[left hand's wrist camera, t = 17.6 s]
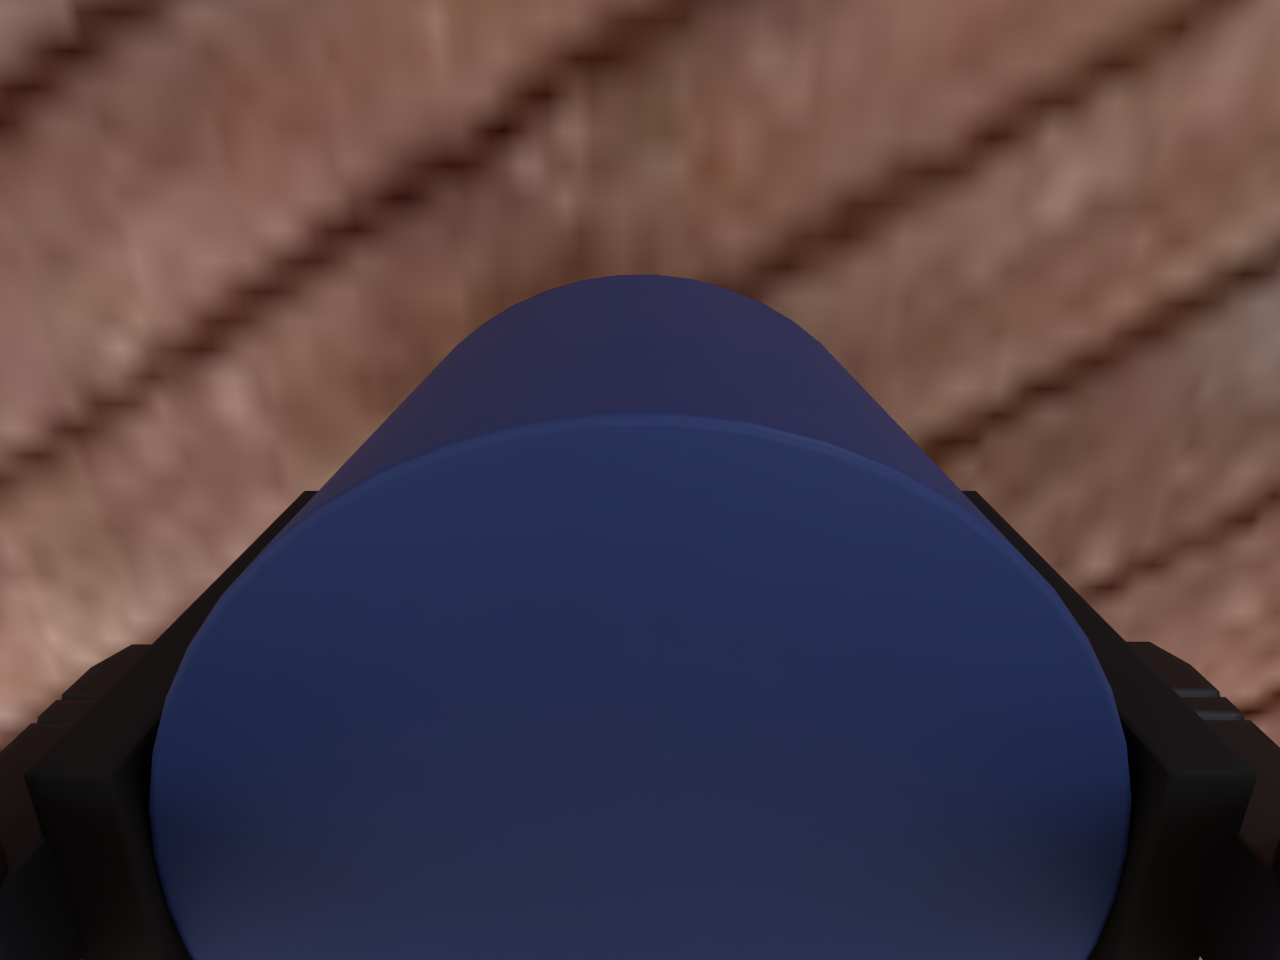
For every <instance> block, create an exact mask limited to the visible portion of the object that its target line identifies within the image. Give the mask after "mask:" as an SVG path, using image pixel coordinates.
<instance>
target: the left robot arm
mask: <svg viewBox="0 0 1280 960" xmlns="http://www.w3.org/2000/svg"><path fill="white" fill-rule="evenodd" d="M317 492H318V491H304V492H303V493H302V494H301V495H300V496H299V497H298V498H297V499H296V500H295V501H294V502H293V503H292V504H291V505H290V506H289V507H288V508H287V509H286V510H285V511H284V512H283V513H282V514H281V515H280V516H279V517H278V518H277V519H276V520H275V521H274V522H273V523H272V524H271V525H270V526H269V527H268V528H267V529H266V530H265V531H264V532H263V533H262V534H261V535H260V536H259V537H258V538H257V539H256V541H255V542H254V543H253V544H252V545H251V546H250V547H249V548H248V549H247V550H246V551H245V552H244V553H243V554H242V555H241V556H240V557H239V558H238V559H237V560H236V561H235V562H234V563H233V564H232V565H231V566H230V567H229V568H228V569H227V570H226V571H225V572H224V573H223V574H222V575H221V576H220V577H219V578H218V579H217V580H216V581H215V582H214V583H213V584H212V585H211V586H210V587H209V588H208V589H207V590H206V591H205V592H204V593H203V594H202V595H201V596H200V597H199V598H198V599H197V600H196V601H195V602H194V603H193V604H192V605H191V606H190V607H189V608H188V609H187V610H186V611H185V612H184V613H183V614H182V615H181V616H180V617H179V618H178V619H177V620H176V621H175V622H174V623H173V624H172V625H171V626H170V627H169V628H168V629H167V630H166V631H165V632H164V633H163V634H162V635H161V636H160V637H159V638H158V639H157V640H156V641H155V642H154V643H153V644H152V645H130V646H129V647H127V648H125V649H123V650H121V651H120V652H118V653H116V654H114V655H113V656H111V657H109V658H107V659H105V660H104V661H102V662H100V663H98V664H97V665H95V666H93V667H91V668H90V669H89V670H88V671H87V672H86V673H85V674H84V675H83V676H82V677H80V678H79V679H78V680H77V681H76V682H75V683H74V684H73V685H72V686H71V687H70V688H69V689H68V690H67V691H66V692H64V693H63V694H62V699H61V700H56V701H55V702H54V703H53V704H52V705H51V706H50V707H48V708H47V709H46V710H45V711H44V712H43V713H42V714H41V715H40V716H39V717H38V721H37V723H31V724H30V725H29V726H28V727H27V728H26V729H25V730H24V731H23V732H22V733H21V734H20V735H19V736H17V737H16V738H15V739H14V740H13V741H12V742H11V743H10V744H9V745H8V746H7V747H6V748H5V749H4V750H3V751H1V752H0V960H81V959H82V960H193V959H192V957H191V955H190V954H189V952H188V951H187V948H186V946H185V944H184V942H183V939H182V937H181V935H180V933H179V931H178V928H177V926H176V924H175V922H174V919H173V917H172V915H171V913H170V911H169V908H168V906H167V902H166V899H165V895H164V892H163V888H162V884H161V881H160V877H159V873H158V870H157V866H156V863H155V859H154V851H153V841H152V832H151V822H150V813H149V799H150V784H151V768H152V755H153V749H154V745H155V740H156V736H157V732H158V728H159V724H160V720H161V716H162V712H163V707H164V703H165V699H166V696H167V694H168V692H169V689H170V687H171V685H172V682H173V680H174V678H175V675H176V673H177V671H178V669H179V666H180V664H181V662H182V659H183V657H184V655H185V652H186V650H187V648H188V646H189V644H190V643H191V641H192V639H193V638H194V636H195V635H196V633H197V632H198V630H199V629H200V627H201V626H202V624H203V623H204V621H205V620H206V618H207V616H208V615H209V613H210V612H211V610H212V609H213V607H214V606H215V604H216V603H217V601H218V600H219V598H220V596H221V595H222V594H223V593H224V592H225V591H226V590H227V589H228V588H229V586H230V585H231V584H232V583H233V582H234V581H235V580H236V579H237V578H238V577H239V575H240V574H241V573H242V572H243V571H244V570H245V569H246V568H247V567H248V566H249V564H250V563H251V562H252V561H253V560H254V559H255V558H256V557H257V556H258V555H259V553H260V552H261V551H262V550H263V549H264V548H265V547H266V546H267V545H268V544H269V543H270V542H271V541H272V540H273V539H274V537H275V536H276V535H277V534H278V533H279V532H280V531H281V530H282V529H283V528H284V527H285V526H286V525H287V524H288V523H289V522H290V521H291V520H292V519H293V517H294V516H295V515H296V514H297V513H298V512H299V511H300V510H301V509H302V508H303V507H304V506H305V505H306V504H307V503H308V502H309V501H310V500H311V499H312V497H313V496H314V495H315V494H316V493H317ZM962 492H963V494H964V495H965V496H966V497H967V498H968V499H969V500H970V501H971V502H972V503H973V504H974V505H975V506H976V507H977V508H978V509H979V510H980V511H981V512H982V513H983V515H984V516H985V517H986V518H987V519H988V520H989V521H990V522H991V523H992V524H993V525H994V526H995V527H996V528H997V529H998V530H999V531H1000V532H1001V533H1002V535H1003V536H1004V537H1005V538H1006V539H1007V540H1008V541H1009V542H1010V543H1011V544H1012V545H1013V546H1014V547H1015V548H1016V549H1017V550H1018V551H1019V552H1020V553H1021V554H1022V556H1023V557H1024V558H1025V559H1026V560H1027V561H1028V562H1029V563H1030V564H1031V565H1032V566H1033V567H1034V568H1035V569H1036V570H1037V571H1038V572H1039V573H1040V574H1041V575H1042V577H1043V578H1044V579H1045V580H1046V581H1047V582H1048V583H1049V584H1050V585H1051V586H1052V587H1053V588H1054V589H1055V591H1056V592H1057V594H1058V595H1059V597H1060V598H1061V600H1062V601H1063V602H1064V604H1065V605H1066V607H1067V608H1068V610H1069V611H1070V613H1071V614H1072V616H1073V617H1074V619H1075V620H1076V621H1077V623H1078V624H1079V626H1080V627H1081V629H1082V630H1083V632H1084V633H1085V635H1086V636H1087V637H1088V639H1089V641H1090V644H1091V646H1092V648H1093V650H1094V652H1095V654H1096V657H1097V659H1098V661H1099V663H1100V665H1101V667H1102V669H1103V672H1104V674H1105V676H1106V678H1107V680H1108V682H1109V685H1110V687H1111V689H1112V692H1113V696H1114V699H1115V703H1116V707H1117V711H1118V714H1119V718H1120V722H1121V725H1122V729H1123V733H1124V737H1125V740H1126V746H1127V755H1128V766H1129V777H1130V789H1131V813H1130V825H1129V837H1128V849H1127V854H1126V858H1125V862H1124V866H1123V870H1122V874H1121V878H1120V882H1119V886H1118V890H1117V894H1116V898H1115V901H1114V903H1113V905H1112V908H1111V910H1110V913H1109V915H1108V917H1107V920H1106V922H1105V924H1104V927H1103V929H1102V931H1101V934H1100V936H1099V938H1098V941H1097V943H1096V945H1095V947H1094V949H1093V950H1092V952H1091V953H1090V955H1089V957H1088V958H1087V960H1199V957H1201V958H1202V959H1203V960H1280V748H1279V747H1278V746H1277V745H1276V744H1275V743H1274V742H1273V741H1272V740H1271V739H1270V738H1269V737H1268V736H1267V735H1265V734H1264V733H1263V732H1262V731H1261V730H1260V729H1259V728H1258V727H1257V726H1256V725H1255V724H1254V723H1253V722H1251V721H1250V720H1245V719H1244V714H1243V713H1242V712H1241V711H1240V710H1239V709H1237V708H1236V707H1235V706H1234V705H1233V704H1232V703H1231V702H1230V701H1229V700H1228V699H1227V698H1226V697H1220V695H1219V693H1220V692H1219V691H1218V690H1217V689H1216V688H1215V687H1214V686H1213V685H1212V684H1211V683H1209V682H1208V681H1207V680H1206V679H1205V678H1204V677H1203V676H1202V675H1201V674H1200V673H1199V672H1198V671H1197V670H1196V669H1194V668H1193V667H1192V666H1191V665H1190V664H1188V663H1186V662H1185V661H1183V660H1181V659H1179V658H1177V657H1176V656H1174V655H1172V654H1170V653H1168V652H1167V651H1165V650H1163V649H1161V648H1159V647H1158V646H1156V645H1154V644H1152V643H1151V642H1125V641H1124V640H1123V639H1122V638H1121V637H1120V636H1119V635H1118V634H1117V633H1116V632H1115V631H1114V630H1113V629H1112V628H1111V626H1110V625H1109V624H1108V623H1107V622H1106V621H1105V620H1104V619H1103V618H1102V617H1101V616H1100V615H1099V614H1098V613H1097V612H1096V611H1095V610H1094V609H1093V608H1092V607H1091V606H1090V605H1089V604H1088V603H1087V602H1086V601H1085V600H1084V599H1083V598H1082V597H1081V596H1080V595H1079V594H1078V593H1077V592H1076V591H1075V590H1074V589H1073V588H1072V587H1071V586H1070V585H1069V584H1068V583H1067V582H1066V581H1065V580H1064V579H1063V578H1062V577H1061V576H1060V575H1059V574H1058V573H1057V572H1056V571H1055V570H1054V569H1053V568H1052V567H1051V566H1050V565H1049V564H1048V563H1047V562H1046V561H1045V560H1044V559H1043V558H1042V557H1041V556H1040V555H1039V554H1038V553H1037V552H1036V551H1035V550H1034V549H1033V548H1032V547H1031V546H1030V545H1029V544H1028V543H1027V542H1026V541H1025V540H1024V539H1023V538H1022V537H1021V536H1020V535H1019V534H1018V533H1017V532H1016V531H1015V530H1014V529H1013V528H1012V527H1011V526H1010V525H1009V524H1008V523H1007V522H1006V521H1005V520H1004V519H1003V518H1002V517H1001V516H1000V515H999V514H998V513H997V512H996V511H995V510H994V509H993V508H992V507H991V506H990V505H989V504H988V503H987V502H986V501H985V500H984V499H983V498H982V497H981V496H980V495H979V494H978V493H977V492H976V491H962Z"/></svg>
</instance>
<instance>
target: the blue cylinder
mask: <svg viewBox="0 0 1280 960" xmlns="http://www.w3.org/2000/svg"><path fill="white" fill-rule="evenodd" d="M149 813H150V822H151V832H152V841H153V851H154V859H155V863H156V866H157V870H158V873H159V877H160V881H161V884H162V888H163V892H164V895H165V899H166V902H167V906H168V908H169V911H170V913H171V915H172V917H173V919H174V922H175V924H176V926H177V928H178V931H179V933H180V935H181V937H182V939H183V942H184V944H185V946H186V948H187V951H188V952H189V954H190V955H191V957H192V959H193V960H1087V958H1088V957H1089V955H1090V953H1091V952H1092V950H1093V949H1094V947H1095V945H1096V943H1097V941H1098V938H1099V936H1100V934H1101V931H1102V929H1103V927H1104V924H1105V922H1106V920H1107V917H1108V915H1109V913H1110V910H1111V908H1112V905H1113V903H1114V901H1115V898H1116V894H1117V890H1118V886H1119V882H1120V878H1121V874H1122V870H1123V866H1124V862H1125V858H1126V854H1127V849H1128V837H1129V825H1130V813H1131V789H1130V777H1129V766H1128V755H1127V746H1126V740H1125V737H1124V733H1123V729H1122V725H1121V722H1120V718H1119V714H1118V711H1117V707H1116V703H1115V699H1114V696H1113V692H1112V689H1111V687H1110V685H1109V682H1108V680H1107V678H1106V676H1105V674H1104V672H1103V669H1102V667H1101V665H1100V663H1099V661H1098V659H1097V657H1096V654H1095V652H1094V650H1093V648H1092V646H1091V644H1090V641H1089V639H1088V637H1087V636H1086V635H1085V633H1084V632H1083V630H1082V629H1081V627H1080V626H1079V624H1078V623H1077V621H1076V620H1075V619H1074V617H1073V616H1072V614H1071V613H1070V611H1069V610H1068V608H1067V607H1066V605H1065V604H1064V602H1063V601H1062V600H1061V598H1060V597H1059V595H1058V594H1057V592H1056V591H1055V589H1054V588H1053V587H1052V586H1051V585H1050V584H1049V583H1048V582H1047V581H1046V580H1045V579H1044V578H1043V577H1042V575H1041V574H1040V573H1039V572H1038V571H1037V570H1036V569H1035V568H1034V567H1033V566H1032V565H1031V564H1030V563H1029V562H1028V561H1027V560H1026V559H1025V558H1024V557H1023V556H1022V554H1021V553H1020V552H1019V551H1018V550H1017V549H1016V548H1015V547H1014V546H1013V545H1012V544H1011V543H1010V542H1009V541H1008V540H1007V539H1006V538H1005V537H1004V536H1003V535H1002V533H1001V532H1000V531H999V530H998V529H997V528H996V527H995V526H994V525H993V524H992V523H991V522H990V521H989V520H988V519H987V518H986V517H985V516H984V515H983V513H982V512H981V511H980V510H979V509H978V508H977V507H976V506H975V505H974V504H973V503H972V502H971V501H970V500H969V499H968V498H967V497H966V496H965V495H964V494H963V492H962V491H961V490H960V489H959V488H958V487H957V486H956V485H955V484H954V483H953V482H952V481H951V480H950V479H949V478H948V477H947V476H946V475H945V474H944V473H943V471H942V470H941V469H940V468H939V467H938V466H937V465H936V464H935V463H934V462H933V461H932V460H931V459H930V458H929V457H928V456H927V455H926V454H925V453H924V451H923V450H922V449H921V448H920V447H919V446H918V445H917V444H916V443H915V442H914V441H913V440H912V439H911V438H910V437H909V436H908V435H907V434H906V433H905V432H904V430H903V429H902V428H901V427H900V426H899V425H898V424H897V423H896V422H895V421H894V420H893V419H892V418H891V417H890V416H889V415H888V414H887V413H886V412H885V411H884V409H883V408H882V407H881V406H880V405H879V404H878V403H877V402H876V401H875V400H874V399H873V398H872V397H871V396H870V395H869V394H868V393H867V392H866V391H865V390H864V388H863V387H862V386H861V385H860V384H859V383H858V382H857V381H856V380H855V379H854V378H853V377H852V376H851V375H850V374H849V373H848V372H847V371H846V370H845V368H844V367H843V366H842V365H841V364H840V363H839V362H838V361H837V360H836V359H835V358H834V357H833V356H832V355H831V354H830V353H829V352H828V351H827V350H826V349H825V347H824V346H823V345H822V344H821V343H820V342H818V341H817V340H816V339H815V338H813V337H812V336H811V335H810V334H808V333H807V332H806V331H805V330H803V329H802V328H801V327H799V326H798V325H797V324H796V323H794V322H793V321H792V320H790V319H788V318H787V317H785V316H783V315H781V314H780V313H778V312H776V311H775V310H773V309H771V308H770V307H768V306H766V305H764V304H763V303H761V302H758V301H756V300H754V299H751V298H749V297H746V296H744V295H741V294H739V293H737V292H734V291H732V290H729V289H726V288H723V287H719V286H715V285H711V284H707V283H704V282H700V281H696V280H692V279H684V278H676V277H668V276H660V275H618V276H611V277H604V278H597V279H590V280H583V281H579V282H576V283H572V284H569V285H565V286H562V287H558V288H555V289H551V290H548V291H545V292H543V293H540V294H538V295H536V296H534V297H531V298H529V299H527V300H524V301H522V302H520V303H518V304H515V305H513V306H512V307H510V308H508V309H507V310H505V311H503V312H502V313H500V314H499V315H497V316H495V317H494V318H492V319H490V320H489V321H487V322H486V323H484V324H483V325H481V326H480V327H479V328H478V329H476V330H475V331H474V332H473V333H472V334H470V335H469V336H468V337H467V338H466V339H464V340H463V341H462V342H461V343H459V344H458V345H457V346H456V347H455V348H454V349H453V350H452V351H451V352H450V353H449V354H448V355H447V356H446V357H445V359H444V360H443V361H442V362H441V363H440V364H439V365H438V366H437V367H436V368H435V369H434V370H433V371H432V372H431V373H430V374H429V375H428V376H427V377H426V379H425V380H424V381H423V382H422V383H421V384H420V385H419V386H418V387H417V388H416V389H415V390H414V391H413V392H412V393H411V394H410V395H409V396H408V397H407V399H406V400H405V401H404V402H403V403H402V404H401V405H400V406H399V407H398V408H397V409H396V410H395V411H394V412H393V413H392V414H391V415H390V416H389V417H388V419H387V420H386V421H385V422H384V423H383V424H382V425H381V426H380V427H379V428H378V429H377V430H376V431H375V432H374V433H373V434H372V435H371V436H370V437H369V439H368V440H367V441H366V442H365V443H364V444H363V445H362V446H361V447H360V448H359V449H358V450H357V451H356V452H355V453H354V454H353V455H352V456H351V457H350V459H349V460H348V461H347V462H346V463H345V464H344V465H343V466H342V467H341V468H340V469H339V470H338V471H337V472H336V473H335V474H334V475H333V476H332V477H331V479H330V480H329V481H328V482H327V483H326V484H325V485H324V486H323V487H322V488H321V489H320V490H319V491H318V492H317V493H316V494H315V495H314V496H313V497H312V499H311V500H310V501H309V502H308V503H307V504H306V505H305V506H304V507H303V508H302V509H301V510H300V511H299V512H298V513H297V514H296V515H295V516H294V517H293V519H292V520H291V521H290V522H289V523H288V524H287V525H286V526H285V527H284V528H283V529H282V530H281V531H280V532H279V533H278V534H277V535H276V536H275V537H274V539H273V540H272V541H271V542H270V543H269V544H268V545H267V546H266V547H265V548H264V549H263V550H262V551H261V552H260V553H259V555H258V556H257V557H256V558H255V559H254V560H253V561H252V562H251V563H250V564H249V566H248V567H247V568H246V569H245V570H244V571H243V572H242V573H241V574H240V575H239V577H238V578H237V579H236V580H235V581H234V582H233V583H232V584H231V585H230V586H229V588H228V589H227V590H226V591H225V592H224V593H223V594H222V595H221V596H220V598H219V600H218V601H217V603H216V604H215V606H214V607H213V609H212V610H211V612H210V613H209V615H208V616H207V618H206V620H205V621H204V623H203V624H202V626H201V627H200V629H199V630H198V632H197V633H196V635H195V636H194V638H193V639H192V641H191V643H190V644H189V646H188V648H187V650H186V652H185V655H184V657H183V659H182V662H181V664H180V666H179V669H178V671H177V673H176V675H175V678H174V680H173V682H172V685H171V687H170V689H169V692H168V694H167V696H166V699H165V703H164V707H163V712H162V716H161V720H160V724H159V728H158V732H157V736H156V740H155V745H154V749H153V755H152V768H151V784H150V799H149Z"/></svg>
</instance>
